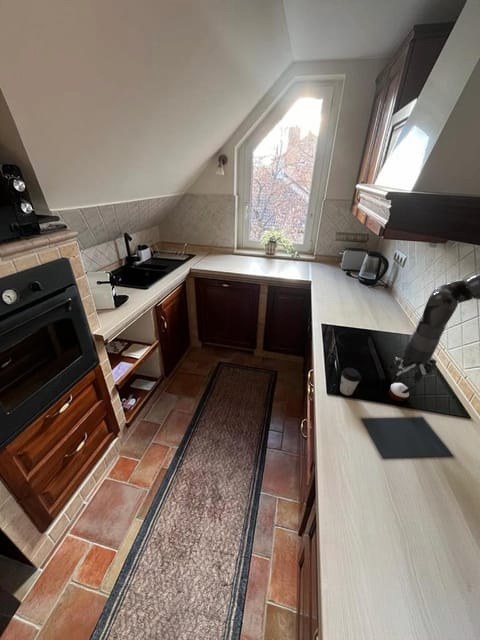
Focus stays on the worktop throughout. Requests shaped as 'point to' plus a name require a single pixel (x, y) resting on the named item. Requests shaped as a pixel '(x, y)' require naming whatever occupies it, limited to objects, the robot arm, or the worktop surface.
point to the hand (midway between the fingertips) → (404, 381)
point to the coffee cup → (349, 381)
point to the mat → (405, 438)
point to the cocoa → (400, 391)
